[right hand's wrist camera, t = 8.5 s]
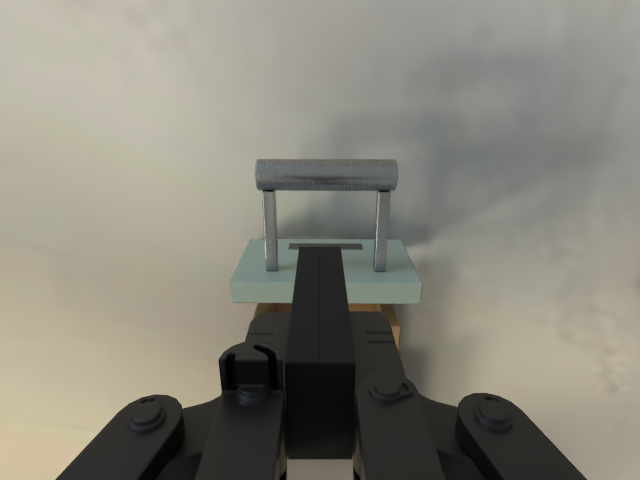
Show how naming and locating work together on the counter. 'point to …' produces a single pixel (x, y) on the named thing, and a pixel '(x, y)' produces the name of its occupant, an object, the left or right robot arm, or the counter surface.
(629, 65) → the counter surface
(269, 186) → the drawer
